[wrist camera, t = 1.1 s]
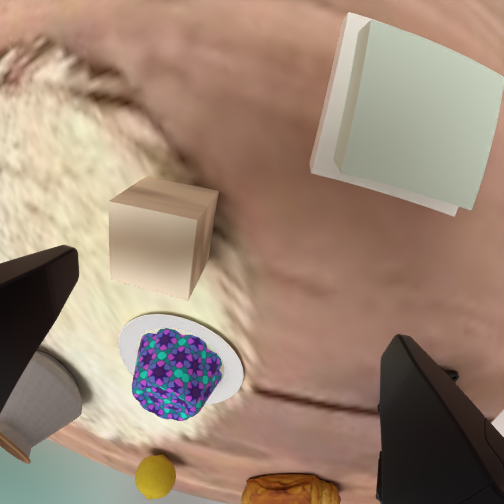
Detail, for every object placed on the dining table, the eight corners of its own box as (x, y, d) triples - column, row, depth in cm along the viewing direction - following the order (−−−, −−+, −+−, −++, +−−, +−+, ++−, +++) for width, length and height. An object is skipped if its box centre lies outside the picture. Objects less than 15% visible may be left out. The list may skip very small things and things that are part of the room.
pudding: (271, 356, 26) (265, 405, 22) (207, 412, 32) (196, 452, 27) (145, 283, 25) (116, 325, 20) (108, 358, 30) (87, 394, 25)
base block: (436, 200, 19) (454, 216, 16) (308, 161, 19) (311, 173, 16) (471, 76, 14) (495, 75, 12) (340, 23, 15) (348, 12, 12)
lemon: (149, 457, 40) (134, 499, 33) (141, 441, 38) (124, 486, 31) (183, 465, 40) (170, 509, 33) (178, 450, 37) (163, 498, 30)
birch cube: (208, 258, 22) (188, 300, 18) (143, 242, 23) (110, 278, 18) (219, 190, 20) (197, 220, 16) (146, 176, 20) (109, 201, 16)
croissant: (335, 486, 44) (342, 524, 37) (247, 498, 45) (248, 535, 38) (338, 456, 37) (347, 505, 30) (228, 470, 38) (227, 518, 31)
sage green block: (448, 191, 16) (471, 210, 13) (332, 159, 16) (340, 172, 13) (475, 77, 12) (505, 77, 10) (358, 31, 12) (370, 19, 10)
